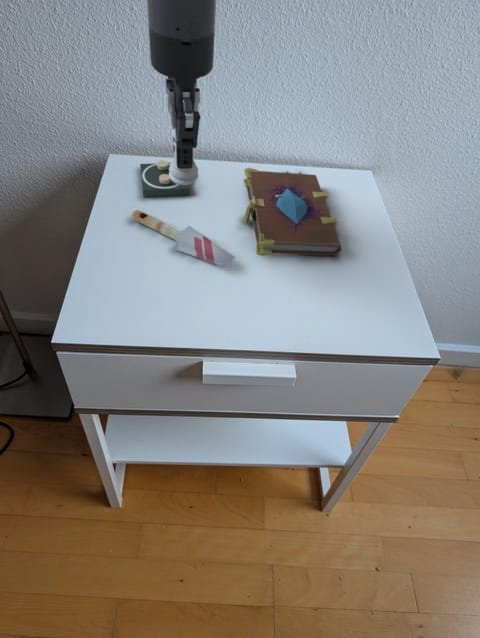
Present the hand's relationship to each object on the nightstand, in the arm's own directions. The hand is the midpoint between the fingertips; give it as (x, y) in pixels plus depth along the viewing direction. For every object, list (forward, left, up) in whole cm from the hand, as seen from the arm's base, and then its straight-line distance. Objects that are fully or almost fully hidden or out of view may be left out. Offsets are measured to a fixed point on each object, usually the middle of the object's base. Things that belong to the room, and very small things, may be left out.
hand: (182, 159), depth 62 cm
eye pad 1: (-2, +17, -13) cm, 22 cm away
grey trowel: (-1, -2, -15) cm, 15 cm away
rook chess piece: (0, 0, -3) cm, 3 cm away
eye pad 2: (-2, +13, -13) cm, 18 cm away
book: (+19, +5, -15) cm, 24 cm away
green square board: (-2, +15, -15) cm, 21 cm away
